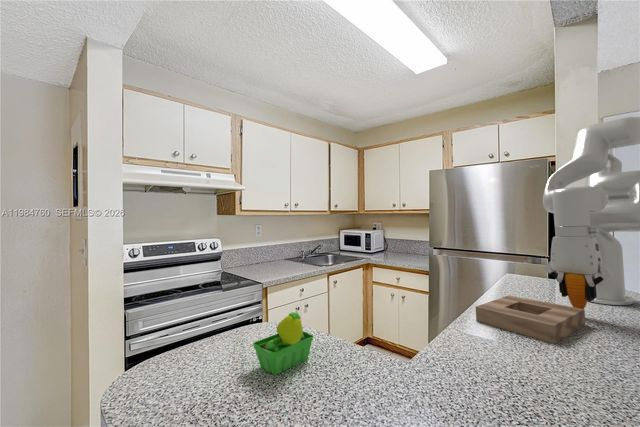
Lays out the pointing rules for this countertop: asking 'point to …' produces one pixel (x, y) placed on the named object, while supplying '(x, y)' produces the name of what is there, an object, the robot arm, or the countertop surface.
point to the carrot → (576, 289)
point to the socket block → (532, 317)
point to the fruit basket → (284, 346)
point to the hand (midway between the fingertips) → (577, 297)
